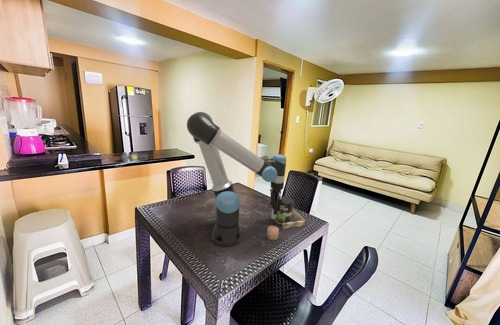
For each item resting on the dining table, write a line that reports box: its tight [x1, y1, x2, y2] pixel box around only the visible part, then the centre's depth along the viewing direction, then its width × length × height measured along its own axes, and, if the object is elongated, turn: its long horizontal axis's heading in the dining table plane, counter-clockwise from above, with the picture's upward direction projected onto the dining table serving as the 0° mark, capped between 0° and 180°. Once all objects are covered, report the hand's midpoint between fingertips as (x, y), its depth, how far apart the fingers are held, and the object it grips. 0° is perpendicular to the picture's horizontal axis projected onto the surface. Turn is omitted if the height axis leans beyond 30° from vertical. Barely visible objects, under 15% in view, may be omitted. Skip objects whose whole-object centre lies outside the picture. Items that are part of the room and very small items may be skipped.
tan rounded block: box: [266, 225, 280, 241], centre depth 111 cm, size 6×6×5 cm
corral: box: [281, 208, 307, 230], centre depth 130 cm, size 15×16×3 cm
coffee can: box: [274, 196, 295, 225], centre depth 127 cm, size 10×10×14 cm
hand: (273, 218), depth 126 cm, fingers closed
